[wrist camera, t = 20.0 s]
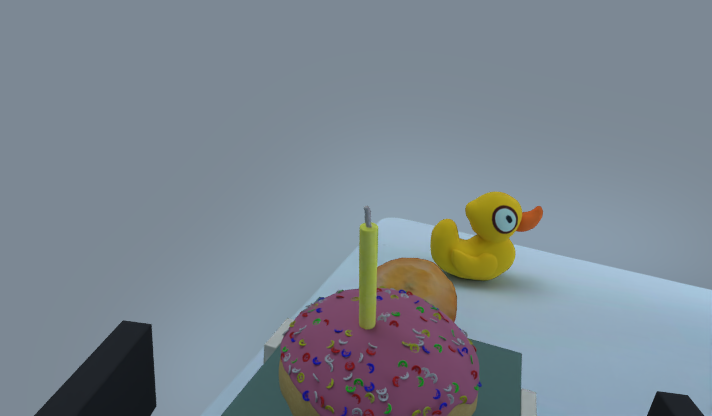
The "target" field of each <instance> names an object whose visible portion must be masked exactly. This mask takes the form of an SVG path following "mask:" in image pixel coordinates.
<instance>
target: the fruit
mask: <svg viewBox="0 0 712 416" xmlns="http://www.w3.org/2000/svg"><path fill="white" fill-rule="evenodd" d="M380 286H385V287H386V288H388V289H390V288H394V289H395V290H397V291H399V290H404V291H410V292H412V294H413V295H416V296H418V297H420V298H422V299H424V300H427V301H428V302H429V303H431V304H432V305H434V306H435V307H436V308H438V309H439V310H440V311H442V312H443V313H444V314H446V315H447V316H448V317H449V318H450V319H452V321H453V322H455V318H456V311H457V295H456V291H455V287H454V286H453V283H452V282H451V281H450V280H449V279H448V278H447V277H446V275H445V274H444V273H443V271H442V270H441V269H440V268H439V267H438V266H437V265H436V264H435V263H433V262H431V261H428V260H424V259H419V258H399V259H395V260H391V261H389V262H386V263H384V264H383V265H381V266H378V267H377V288H379V287H380ZM401 292H403V291H401Z"/></svg>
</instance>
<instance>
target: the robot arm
mask: <svg viewBox="0 0 712 416" xmlns="http://www.w3.org/2000/svg"><path fill="white" fill-rule="evenodd" d="M151 327H152V326H151V324H146V323H137V322H131V321H122V322H121V323H120V324H119V325H118V326H117V327H116V329H115V330H114V331H113V332H112V333H111V334H110V335H109V336H108V337H107V338H106V339H105V340H104V341H103V343H102V344H101V345H100V346H99V347H98V348H97V349H96V350H95V351H94V352H93V353H92V354H91V356H90V357H88V359H87V360H86V361H85V362H84V363H83V364H82V365H81V366H80V367H79V368H78V369H77V370H76V371H75V373H74V374H73V375H72V376H71V377H70V378H69V379H68V380H67V381H66V382H65V383H64V384H63V385H62V386H61V388H59V390H58V391H57V392H56V393H55V394H54V395H53V396H52V397H51V398H50V399H49V400H48V401H47V402H46V404H45V405H44V406H43V407H42V408H41V409H40V410H39V411H38V412H37V413H36V414H35V415H34V416H151V414H152V412H153V411H154V409H155V407H156V393H155V375H154V359H153V344H152V343H153V342H152V328H151ZM647 416H704V415H703V414H702V412H701V411H700V410H699V409H698V407H697V406H696V405H695V404H694V402H693V401H692V400H691V399H690V397H689V396H688V395H682V394H674V393H667V392H659V391H657V393H656V395H655V398H654V400H653V402H652V405H651V407H650V410H649V412H648V415H647Z"/></svg>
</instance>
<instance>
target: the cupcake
mask: <svg viewBox="0 0 712 416" xmlns="http://www.w3.org/2000/svg"><path fill="white" fill-rule="evenodd" d="M364 210H365V223H363V224H361V225H360V243H359V289H352V290H345V291H343V290H338V291H337V292H336V293H335V294H333V295H331V296H328V297H326V298H324V297H322V298H320V299H319V300H318V302H316V303H314V304H312V303H311V304H310V305H309V306H306V307H308V308H307V309H304V310H303V311H302V312H300V314H299V315H298V316H297V317H296V319H295V320H294V321H293V322H291V323H290V325H289V326H290V327H289V328H288V330H287V331H285V332H284V333H283V334H282V335H284V337H283V339H282V342H281V346H280V350H281V357H280V362H279V384H280V389H281V393H282V395H283V397H284V398H285V400H286V402H287V404H288V406H289V408H290V410H291V413H292V415H293V416H472V415H473V413H474V412H475V410H476V406H477V398H478V390H479V387H481V386H482V384H481V382H480V381H479V361H478V357H477V354H476V348H475V346H474V345H472V344H473V343H472V341H471V340H470V339H468V338H467V333H466V332H465V331H464V330H461V329H460V328H458V326H457V325H456V324H455V323H454V322H453V321H452V319H450V318H449V317H448V316H447V315H446V314H444V313H443V312H442V311H440V310H439V309H438V308H436V307H435V306H434V305H432V304H431V303H429V302H428V301H427V300H424V299H422V298H420V297H418V296H416V295H413V294H412V292H410V291H404V290H399V291H397V290H395V289H394V288H390V289H388V288H386V287H385V286H380V287H379V288H377V254H378V226H377V225H376V224H375V223H371V211H370V208H369V207H368V206H365V207H364ZM401 291H403V292H401ZM464 333H465V334H464ZM473 347H474V348H473Z"/></svg>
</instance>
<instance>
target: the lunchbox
mask: <svg viewBox="0 0 712 416" xmlns="http://www.w3.org/2000/svg"><path fill="white" fill-rule="evenodd" d="M320 298H322V297H319V298H318V299H317V300H316V302H318V300H319V299H320ZM316 302H315V303H316ZM293 321H294V320H292V319H289V318H287V319H286V320H285V322H284V323H283V324H282V325H281V326H280V327H279V328H278V329H277V331H276V332H275V333H274V334H273V335H272V336H271V337H270V339H269V340H268V341H267V342H266V343H265V344H264V364H263V366H262V367H261V368H260V369H259V370H258V372H257V373H256V374H255V375H254V376H253V378H252V379H251V380H250V381H249V382H248V384H247V385H246V386H245V387H244V388H243V390H242V391H241V392H240V393H239V394H238V396H237V397H236V398H235V399H234V401H233V402H232V403H231V404H230V405H229V407H228V408H227V409H226V410H225V411H224V413H223V414H222V415H221V416H293V415H292V413H291V410H290V408H289V406H288V404H287V402H286V400H285V398H284V397H283V395H282V393H281V389H280V384H279V362H280V357H281V350H280V346H281V342H282V339H283V337H284V335H282V334H283V333H284V332H285V331H287V330H288V328H289V327H290V326H289V325H290V323H291V322H293ZM470 340H471V341H472V343H473V344H472V345H474V346H475V348H476V354H477V357H478V361H479V381H480V382H481V384H482V386H481V387H479V390H478V398H477V406H476V410H475V412H474V413H473V415H472V416H537V408H536V393H535V392H533V391H530V390H526V389H521V364H522V354H521V353H518V352H515V351H511V350H508V349H504V348H501V347H497V346H493V345H490V344H486V343H483V342H479V341H476V340H472V339H470ZM473 348H474V347H473Z"/></svg>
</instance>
